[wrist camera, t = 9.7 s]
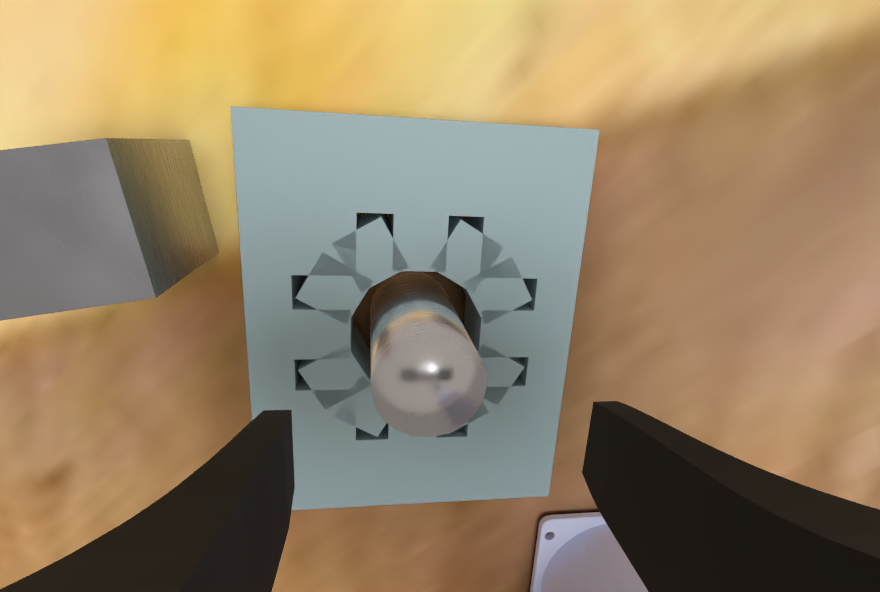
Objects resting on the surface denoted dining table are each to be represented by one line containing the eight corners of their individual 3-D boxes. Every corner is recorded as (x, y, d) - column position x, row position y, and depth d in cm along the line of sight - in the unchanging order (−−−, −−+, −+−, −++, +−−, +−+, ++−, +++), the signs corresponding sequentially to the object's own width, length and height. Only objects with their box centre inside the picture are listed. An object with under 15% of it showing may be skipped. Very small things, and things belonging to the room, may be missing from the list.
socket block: (526, 454, 24) (548, 496, 21) (272, 464, 22) (258, 512, 19) (565, 132, 20) (599, 129, 17) (252, 112, 18) (230, 106, 15)
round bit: (444, 348, 22) (477, 438, 15) (366, 343, 21) (366, 435, 14) (454, 274, 21) (495, 336, 14) (373, 267, 20) (376, 327, 13)
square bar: (218, 251, 19) (156, 297, 13) (106, 267, 19) (-9, 321, 13) (189, 140, 18) (105, 138, 12) (67, 154, 17) (-79, 159, 12)
